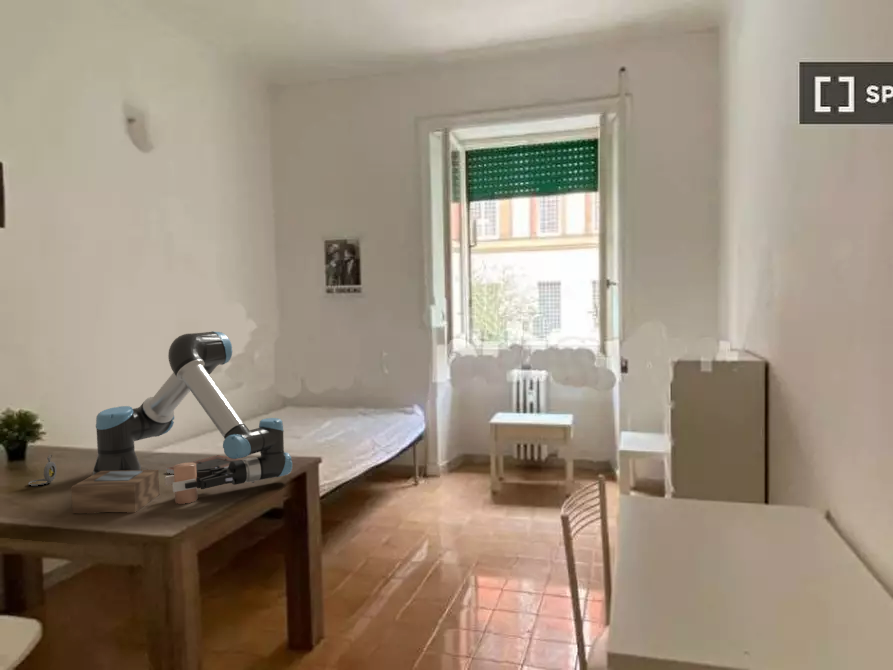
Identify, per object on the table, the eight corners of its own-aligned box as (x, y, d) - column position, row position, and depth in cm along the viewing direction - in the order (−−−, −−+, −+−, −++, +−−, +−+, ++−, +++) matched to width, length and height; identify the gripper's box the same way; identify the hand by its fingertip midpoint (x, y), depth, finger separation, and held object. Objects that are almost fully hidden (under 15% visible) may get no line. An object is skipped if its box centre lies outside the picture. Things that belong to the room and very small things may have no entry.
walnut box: (102, 495, 206) (100, 469, 206) (159, 494, 207) (158, 468, 206) (72, 513, 189) (71, 485, 189) (135, 512, 190) (134, 484, 189)
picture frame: (195, 481, 223) (246, 466, 241) (194, 474, 223) (246, 460, 241) (166, 474, 232) (218, 461, 250) (166, 467, 232) (217, 454, 250)
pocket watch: (27, 484, 221) (25, 454, 221) (56, 479, 226) (54, 450, 226) (29, 489, 215) (28, 459, 214) (59, 484, 220) (57, 455, 219)
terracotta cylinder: (179, 497, 203) (178, 462, 202) (200, 497, 203) (199, 462, 202) (171, 504, 197) (170, 468, 196) (193, 503, 197) (191, 467, 196)
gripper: (255, 489, 202) (178, 504, 189) (233, 475, 219) (161, 488, 205) (254, 466, 202) (177, 479, 188) (232, 453, 218) (160, 465, 205)
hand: (169, 484), depth 197 cm, fingers open, 8 cm apart
